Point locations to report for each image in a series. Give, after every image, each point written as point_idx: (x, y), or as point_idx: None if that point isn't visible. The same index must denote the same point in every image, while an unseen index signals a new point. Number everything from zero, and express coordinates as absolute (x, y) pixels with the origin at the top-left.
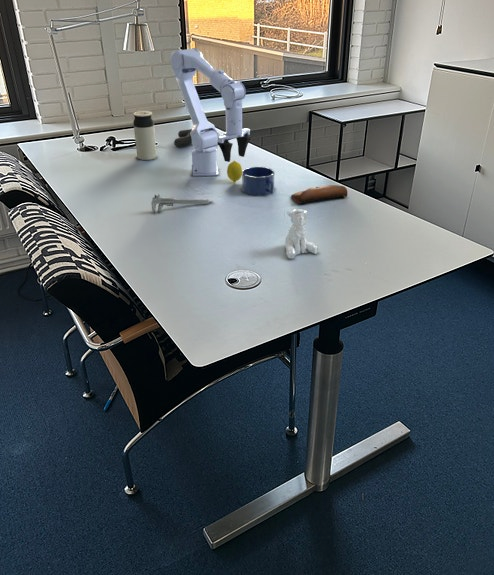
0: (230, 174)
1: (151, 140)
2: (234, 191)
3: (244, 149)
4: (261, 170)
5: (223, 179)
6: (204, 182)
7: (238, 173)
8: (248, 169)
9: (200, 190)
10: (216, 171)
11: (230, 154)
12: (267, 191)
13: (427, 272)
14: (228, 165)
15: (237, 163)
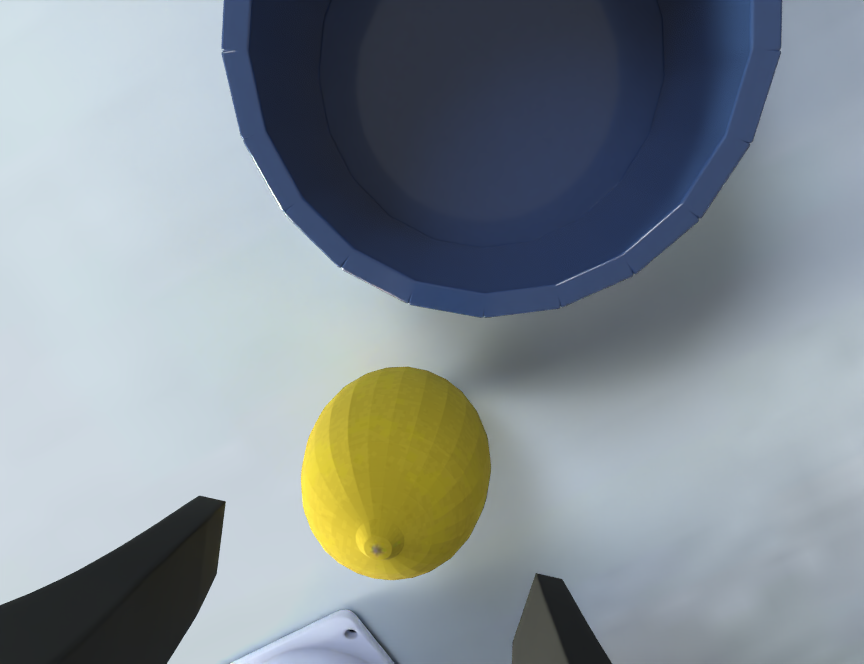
0: (490, 466)
1: None
2: (650, 289)
3: (157, 565)
4: (279, 121)
5: None
6: None
7: (443, 393)
8: (421, 276)
9: (752, 570)
10: (293, 652)
11: (568, 657)
12: None
13: None
14: (432, 569)
15: (383, 487)
